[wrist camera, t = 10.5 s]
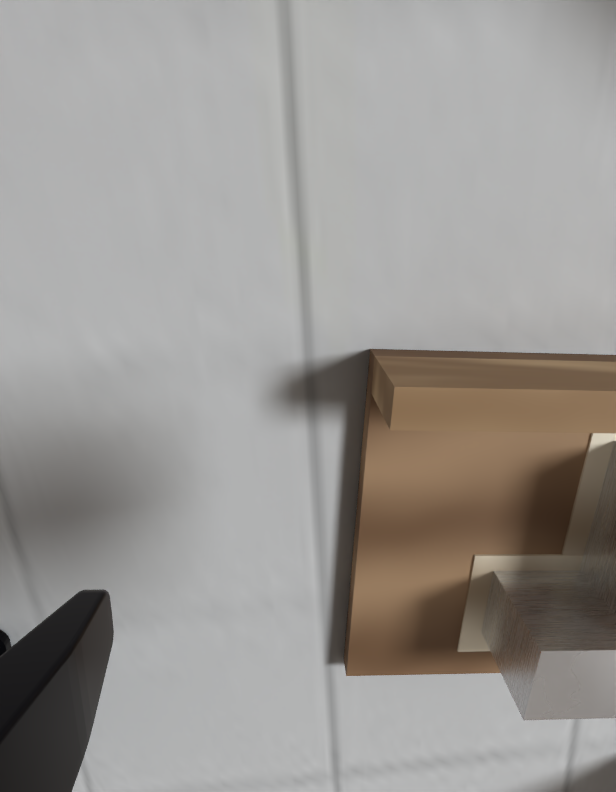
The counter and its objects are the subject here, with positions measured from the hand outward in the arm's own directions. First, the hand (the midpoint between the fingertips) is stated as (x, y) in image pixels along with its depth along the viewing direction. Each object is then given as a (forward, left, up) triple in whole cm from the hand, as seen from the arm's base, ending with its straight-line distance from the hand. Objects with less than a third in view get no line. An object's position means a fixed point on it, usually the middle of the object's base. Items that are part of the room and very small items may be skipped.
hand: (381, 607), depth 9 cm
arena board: (-7, -12, -13) cm, 19 cm away
